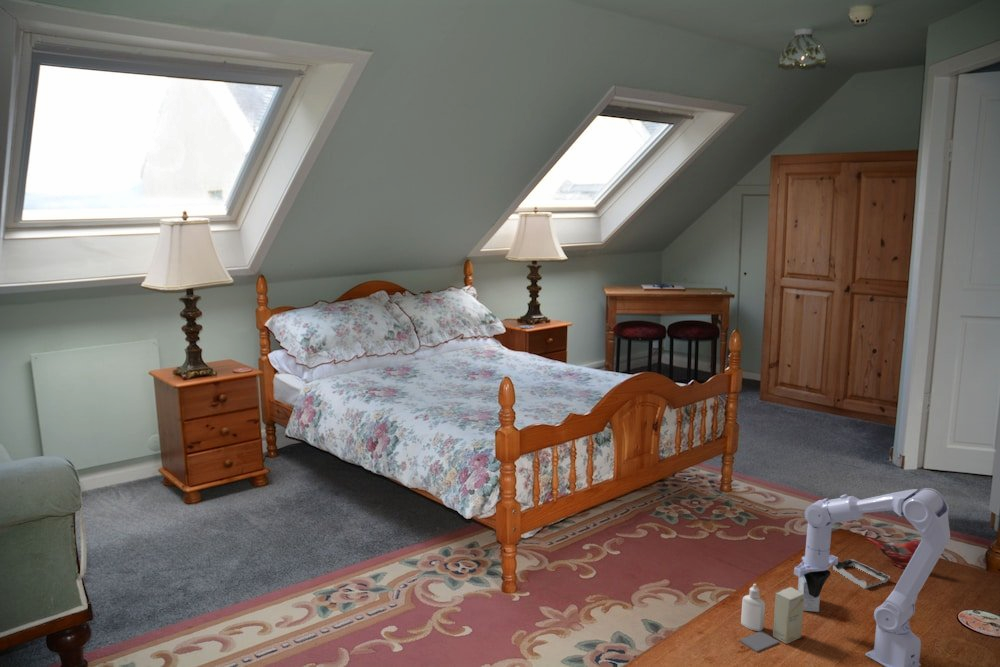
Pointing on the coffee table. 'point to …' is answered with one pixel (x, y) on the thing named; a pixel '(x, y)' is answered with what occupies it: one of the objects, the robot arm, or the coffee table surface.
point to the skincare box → (788, 615)
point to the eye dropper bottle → (753, 610)
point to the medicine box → (808, 596)
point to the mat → (759, 641)
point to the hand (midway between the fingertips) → (813, 595)
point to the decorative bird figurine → (898, 551)
